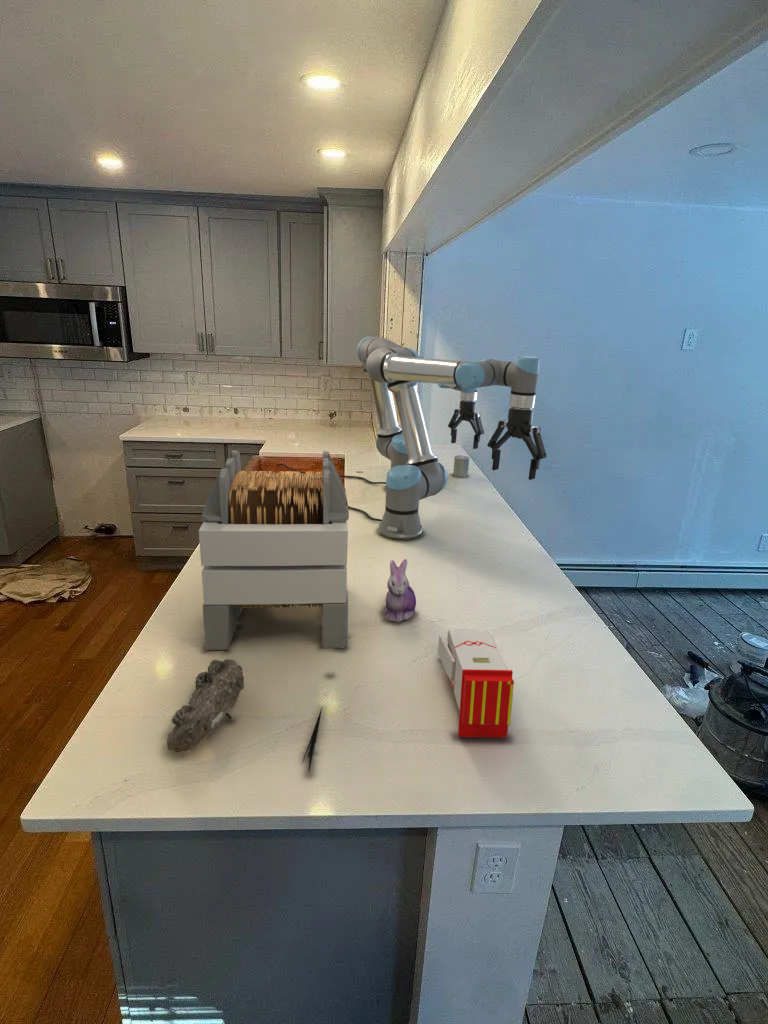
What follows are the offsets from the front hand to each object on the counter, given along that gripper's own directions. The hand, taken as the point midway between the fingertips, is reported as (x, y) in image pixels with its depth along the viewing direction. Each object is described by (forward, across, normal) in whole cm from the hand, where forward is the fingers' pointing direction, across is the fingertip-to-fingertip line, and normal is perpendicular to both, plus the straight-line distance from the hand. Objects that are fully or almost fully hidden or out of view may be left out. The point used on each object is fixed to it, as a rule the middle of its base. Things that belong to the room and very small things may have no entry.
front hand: (513, 474), depth 182 cm
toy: (+26, -38, +71) cm, 84 cm away
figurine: (+26, -6, +58) cm, 64 cm away
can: (+26, +65, -61) cm, 92 cm away
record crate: (+26, +14, +81) cm, 86 cm away
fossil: (+26, -9, +114) cm, 117 cm away
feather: (+26, -23, +99) cm, 105 cm away
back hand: (+11, +64, -60) cm, 89 cm away
